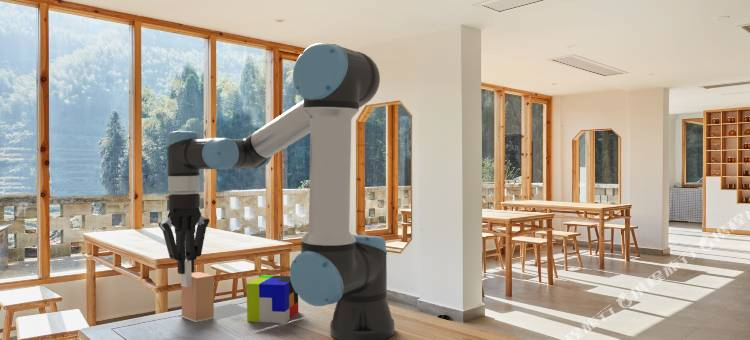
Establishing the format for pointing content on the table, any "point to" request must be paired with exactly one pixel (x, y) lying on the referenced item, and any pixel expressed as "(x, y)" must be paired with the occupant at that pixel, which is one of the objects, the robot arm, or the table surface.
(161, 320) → the table surface
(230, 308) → the mat
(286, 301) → the puzzle toy
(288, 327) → the table surface
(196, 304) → the block
